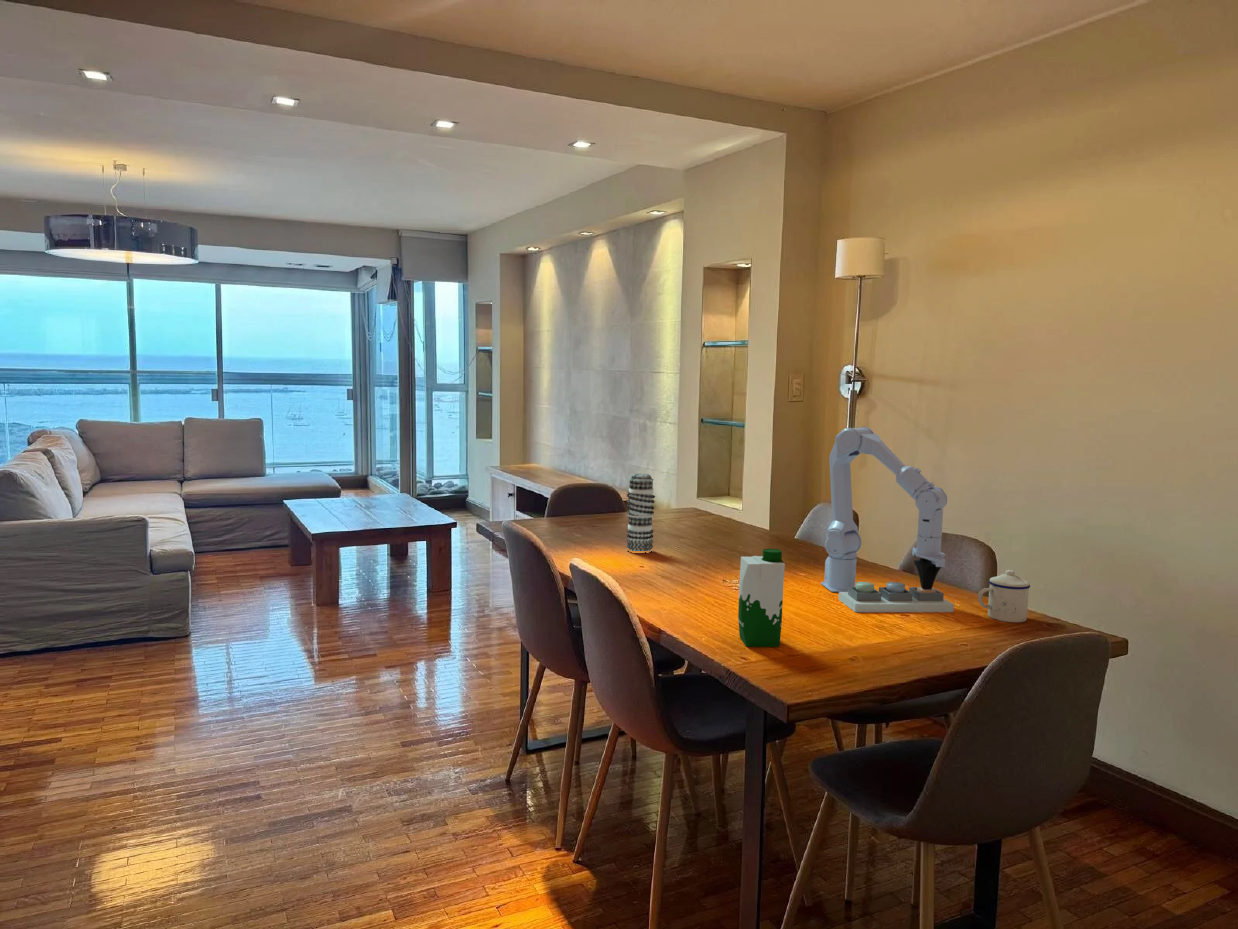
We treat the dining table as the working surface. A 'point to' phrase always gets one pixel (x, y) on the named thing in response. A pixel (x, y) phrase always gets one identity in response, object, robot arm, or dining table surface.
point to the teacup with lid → (1007, 597)
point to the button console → (895, 601)
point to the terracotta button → (926, 590)
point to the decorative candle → (640, 513)
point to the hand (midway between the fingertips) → (926, 589)
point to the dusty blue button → (895, 587)
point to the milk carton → (761, 599)
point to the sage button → (864, 587)
